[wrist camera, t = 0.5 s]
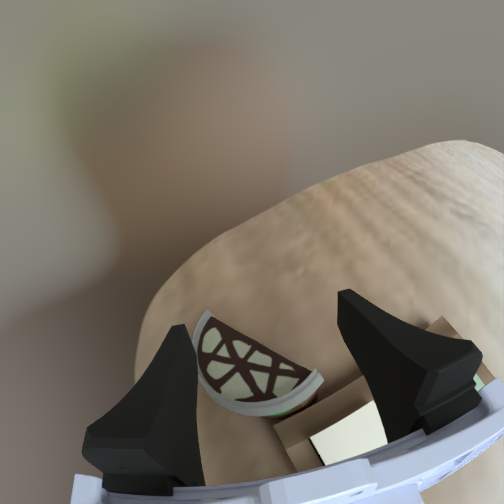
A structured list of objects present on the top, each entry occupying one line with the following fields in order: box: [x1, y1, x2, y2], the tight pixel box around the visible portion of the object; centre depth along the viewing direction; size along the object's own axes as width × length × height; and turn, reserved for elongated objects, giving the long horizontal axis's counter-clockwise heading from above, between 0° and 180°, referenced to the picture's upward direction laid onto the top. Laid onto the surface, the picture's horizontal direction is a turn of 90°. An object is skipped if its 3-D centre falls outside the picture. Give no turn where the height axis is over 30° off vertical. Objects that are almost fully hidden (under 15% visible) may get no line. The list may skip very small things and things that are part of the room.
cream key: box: [310, 400, 388, 465], centre depth 19 cm, size 6×6×2 cm
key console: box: [273, 316, 495, 472], centre depth 21 cm, size 12×20×3 cm, turn 113°
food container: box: [192, 309, 324, 419], centre depth 25 cm, size 12×6×10 cm, turn 52°
